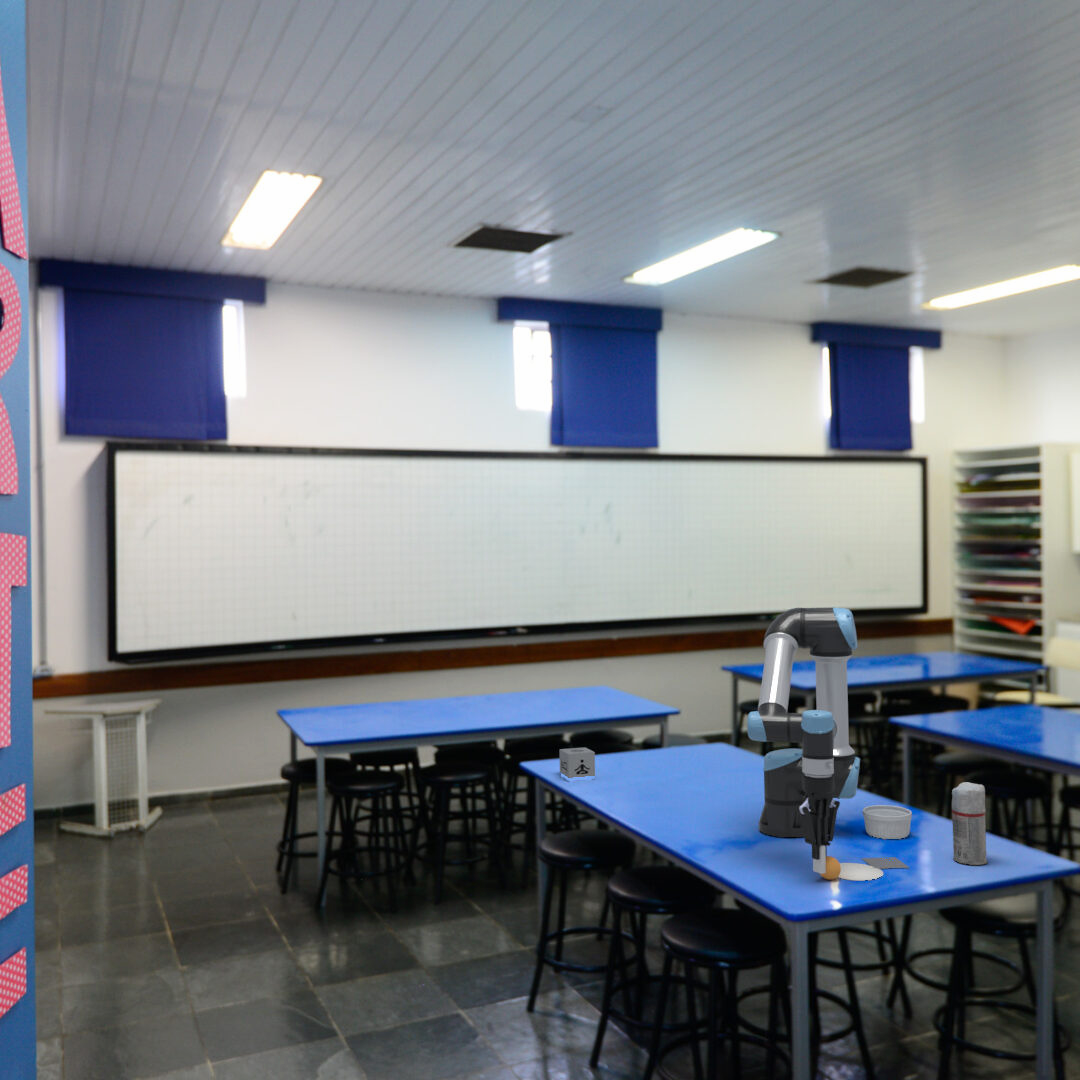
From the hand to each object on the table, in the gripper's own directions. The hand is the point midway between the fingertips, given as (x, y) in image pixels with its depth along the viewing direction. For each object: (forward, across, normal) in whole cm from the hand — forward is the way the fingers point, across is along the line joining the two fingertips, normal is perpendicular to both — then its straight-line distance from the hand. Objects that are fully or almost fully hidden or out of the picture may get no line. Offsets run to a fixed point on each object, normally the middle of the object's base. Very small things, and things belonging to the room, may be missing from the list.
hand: (819, 871), depth 247 cm
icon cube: (+2, +20, +132) cm, 133 cm away
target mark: (+2, +13, 0) cm, 13 cm away
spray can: (+2, +44, -11) cm, 45 cm away
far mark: (+2, +25, 0) cm, 25 cm away
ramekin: (+2, +48, +18) cm, 51 cm away
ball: (0, +3, 0) cm, 3 cm away
